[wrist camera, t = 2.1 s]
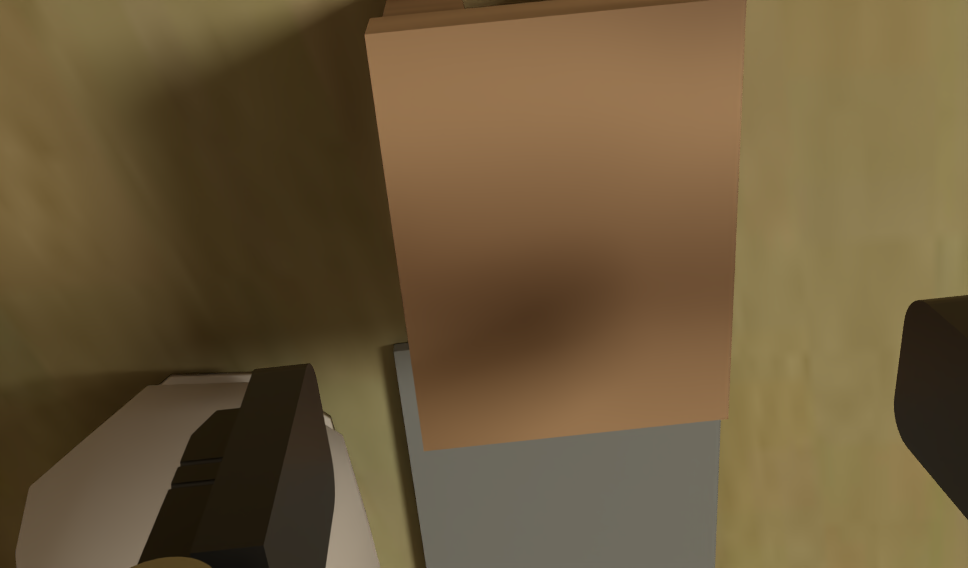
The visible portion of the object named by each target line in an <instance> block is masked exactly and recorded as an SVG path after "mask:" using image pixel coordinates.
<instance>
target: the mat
mask: <svg viewBox="0 0 968 568" xmlns="http://www.w3.org/2000/svg"><path fill="white" fill-rule="evenodd" d="M394 358H395V364H396V371H397V377H398V384H399V391H400V397H401V404H402V410H403V417H404V423H405V430H406V437H407V443H408V450H409V456H410V463H411V469H412V476H413V483H414V489H415V496H416V502H417V509H418V516H419V522H420V529H421V535H422V542H423V548H424V555H425V562H426V568H715V550H716V525H717V499H718V473H719V448H720V422H721V420H713V421H704V422H694V423H685V424H675V425H666V426H657V427H647V428H638V429H629V430H619V431H610V432H600V433H591V434H582V435H572V436H563V437H554V438H544V439H535V440H525V441H516V442H507V443H497V444H488V445H479V446H469V447H460V448H451V449H441V450H432V451H424V449H423V442H422V435H421V428H420V421H419V414H418V407H417V400H416V393H415V386H414V379H413V372H412V365H411V358H410V351H409V344H408V343H401V344H394Z"/></svg>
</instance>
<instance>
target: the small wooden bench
mask: <svg viewBox="0 0 968 568" xmlns="http://www.w3.org/2000/svg"><path fill="white" fill-rule="evenodd" d="M745 20H746V0H549V1H539V2H529V3H519V4H508V5H498V6H488V7H478V8H468V9H465V8H464V4H463V1H462V0H386V4H385V8H384V12H383V16H382V17H377V18H370V19H369V22H368V25H367V28H366V31H365V34H364V35H365V42H366V49H367V56H368V63H369V70H370V77H371V84H372V91H373V98H374V105H375V112H376V119H377V126H378V133H379V140H380V147H381V154H382V161H383V168H384V175H385V182H386V189H387V196H388V203H389V210H390V217H391V224H392V231H393V238H394V245H395V252H396V259H397V266H398V273H399V280H400V287H401V294H402V301H403V308H404V315H405V323H406V330H407V337H408V344H409V351H410V358H411V365H412V372H413V379H414V386H415V393H416V400H417V407H418V414H419V421H420V428H421V435H422V442H423V449H424V451H432V450H441V449H451V448H460V447H469V446H479V445H488V444H497V443H507V442H516V441H525V440H535V439H544V438H554V437H563V436H572V435H582V434H591V433H600V432H610V431H619V430H629V429H638V428H647V427H657V426H666V425H675V424H685V423H694V422H704V421H713V420H722V419H728V411H729V388H730V365H731V342H732V319H733V296H734V273H735V250H736V227H737V204H738V181H739V158H740V135H741V112H742V89H743V66H744V43H745Z"/></svg>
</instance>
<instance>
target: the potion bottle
mask: <svg viewBox="0 0 968 568" xmlns="http://www.w3.org/2000/svg"><path fill="white" fill-rule="evenodd" d="M251 375H252V372H232V373H200V374H171V375H170V376H169V377H168V378H167V379H165V380H164V381H163V382H162V383H161V384H159V385H148V386H147V387H145V388H144V389H143V390H142V391H141V392H139V393H138V394H137V395H136V396H135V397H134V398H132V399H131V400H130V401H129V402H128V403H126V404H125V405H124V406H123V407H122V408H121V409H119V410H118V411H117V412H116V413H115V414H113V415H112V416H111V417H110V418H109V419H108V420H106V421H105V422H104V423H103V424H102V425H100V426H99V427H98V428H97V429H96V430H95V431H93V432H92V433H91V434H90V435H89V436H87V437H86V438H85V439H84V440H83V441H82V442H80V443H79V444H78V445H77V446H76V447H75V448H73V449H72V450H71V451H70V452H69V453H68V454H67V455H65V456H64V457H63V458H62V459H61V460H60V461H59V462H57V463H56V464H55V465H54V466H53V467H52V468H50V469H49V470H48V471H47V472H46V473H45V474H44V475H42V476H41V477H40V478H39V479H38V480H37V481H36V482H34V483H33V484H32V485H31V486H30V487H29V491H28V495H27V500H26V505H25V509H24V514H23V519H22V523H21V528H20V533H19V538H18V542H17V547H16V552H15V554H16V568H130V567H133V566H135V565H137V564H138V561H139V559H140V556H141V554H142V552H143V549H144V547H145V544H146V542H147V540H148V537H149V535H150V532H151V530H152V528H153V525H154V523H155V520H156V518H157V516H158V513H159V511H160V508H161V506H162V504H163V501H164V499H165V496H166V494H167V492H168V489H171V482H172V480H173V477H174V475H175V472H176V470H177V468H178V467H180V460H181V458H182V456H183V453H184V451H185V448H186V446H187V444H188V441H189V439H190V436H191V435H192V434H193V433H194V432H195V431H196V430H197V429H198V428H199V427H200V426H201V425H202V424H203V423H204V422H205V421H206V420H207V419H208V418H209V417H210V416H211V415H212V414H213V413H214V412H215V411H216V410H224V409H233V408H240V406H241V404H242V401H243V398H244V395H245V392H246V389H247V386H248V383H249V380H250V378H251ZM323 415H324V420H325V425H326V430H327V435H328V440H329V445H330V450H331V456H332V461H333V468H334V479H335V505H334V513H333V520H332V527H331V533H330V540H329V547H328V554H327V561H326V568H380V564H379V561H378V557H377V553H376V549H375V545H374V541H373V538H372V534H371V530H370V526H369V522H368V518H367V515H366V511H365V508H364V505H363V501H362V498H361V495H360V491H359V488H358V485H357V481H356V478H355V475H354V471H353V468H352V465H351V461H350V458H349V455H348V451H347V448H346V445H345V442H344V438H343V435H342V434H340V433H338V432H337V431H335V429H334V425H333V422H332V419H331V416H330V415H329V414H327V413H325V412H324V411H323Z"/></svg>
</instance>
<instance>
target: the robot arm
mask: <svg viewBox="0 0 968 568" xmlns="http://www.w3.org/2000/svg"><path fill="white" fill-rule="evenodd" d="M894 413H895V419H896V424H897V427H898V430H899V433H900V436H901V438H902V440H903V442H904V443H905V445H906V446H907V448H908V449H909V450H910V451H911V452H912V454H913V455H914V456H915V457H916V458H917V460H918V461H919V462H920V463H921V464H922V466H923V467H924V468H925V469H926V470H927V472H928V473H929V474H930V475H931V476H932V478H933V479H934V480H935V481H936V482H937V484H938V485H939V486H940V487H941V488H942V490H943V491H944V492H945V493H946V494H947V496H948V497H949V498H950V499H951V500H952V501H953V503H954V504H955V505H956V506H957V507H958V509H959V510H960V511H961V512H962V513H963V515H964V516H965V517H966V518H967V519H968V295H964V296H954V297H945V298H936V299H926V300H917V301H914V302H913V303H912V304H911V305H910V306H909V308H908V310H907V312H906V315H905V320H904V327H903V335H902V343H901V350H900V358H899V366H898V374H897V381H896V389H895V397H894ZM334 505H335V479H334V468H333V461H332V456H331V450H330V445H329V440H328V435H327V430H326V425H325V420H324V415H323V410H322V404H321V399H320V394H319V389H318V384H317V379H316V375H315V372H314V369H313V367H312V365H311V364H310V363H308V364H299V365H289V366H280V367H270V368H261V369H255V370H254V371H253V372H252V375H251V378H250V380H249V383H248V386H247V389H246V392H245V395H244V398H243V401H242V404H241V406H240V408H233V409H224V410H216V411H215V412H214V413H213V414H212V415H211V416H210V417H209V418H208V419H207V420H206V421H205V422H204V423H203V424H202V425H201V426H200V427H199V428H198V429H197V430H196V431H195V432H194V433H193V434H192V435H191V436H190V439H189V441H188V444H187V446H186V448H185V451H184V453H183V456H182V458H181V460H180V467H178V468H177V470H176V472H175V475H174V477H173V480H172V482H171V489H168V492H167V494H166V496H165V499H164V501H163V504H162V506H161V508H160V511H159V513H158V516H157V518H156V520H155V523H154V525H153V528H152V530H151V532H150V535H149V537H148V540H147V542H146V544H145V547H144V549H143V552H142V554H141V556H140V559H139V561H138V564H137V565H135V566H133V567H130V568H326V561H327V554H328V547H329V540H330V533H331V527H332V520H333V513H334Z"/></svg>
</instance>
